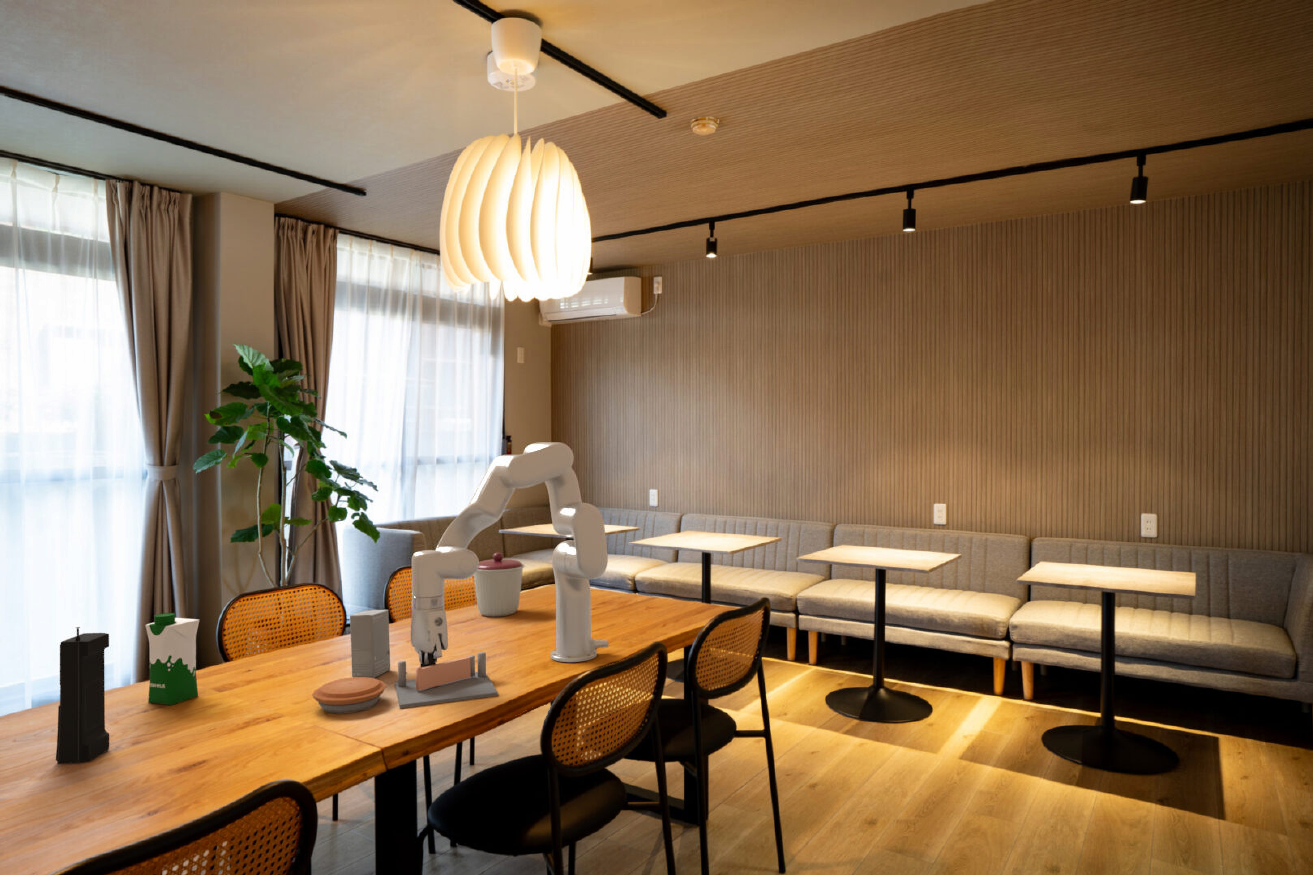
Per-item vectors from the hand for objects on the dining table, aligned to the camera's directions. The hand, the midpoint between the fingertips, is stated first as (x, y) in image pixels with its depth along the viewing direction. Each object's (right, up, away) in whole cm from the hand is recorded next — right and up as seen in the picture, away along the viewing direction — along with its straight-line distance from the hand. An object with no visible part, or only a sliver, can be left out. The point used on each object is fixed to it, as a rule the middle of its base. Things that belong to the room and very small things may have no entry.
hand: (428, 679), depth 187 cm
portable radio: (-54, -3, -39) cm, 67 cm away
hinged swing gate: (+5, -2, -2) cm, 5 cm away
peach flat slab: (+4, -1, 0) cm, 4 cm away
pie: (-14, -3, -12) cm, 19 cm away
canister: (0, -3, +82) cm, 82 cm away
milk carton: (-57, -3, -6) cm, 58 cm away
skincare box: (-18, -3, +13) cm, 22 cm away
